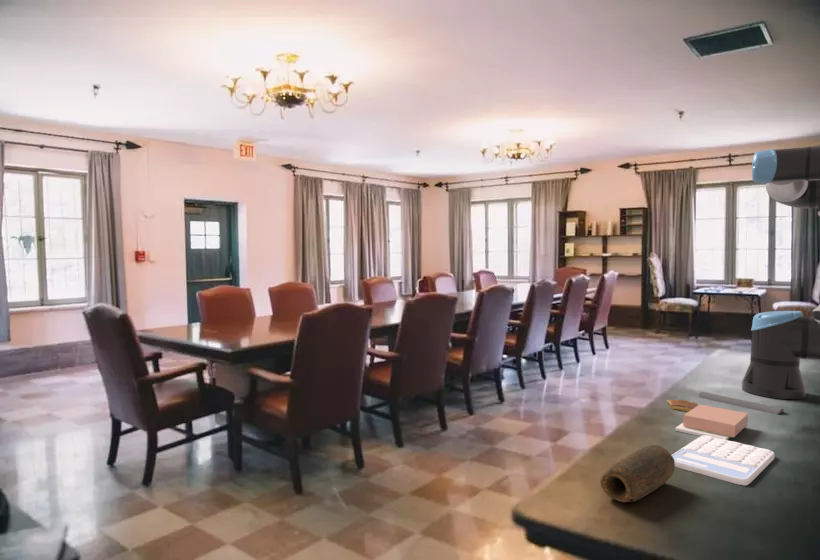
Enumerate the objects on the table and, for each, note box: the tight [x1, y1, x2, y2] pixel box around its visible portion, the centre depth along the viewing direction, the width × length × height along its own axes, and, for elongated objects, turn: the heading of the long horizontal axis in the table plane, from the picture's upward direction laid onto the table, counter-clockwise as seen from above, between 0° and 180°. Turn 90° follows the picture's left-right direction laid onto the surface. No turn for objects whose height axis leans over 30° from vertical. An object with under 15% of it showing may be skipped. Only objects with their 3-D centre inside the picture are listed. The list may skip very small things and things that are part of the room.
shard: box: [666, 399, 700, 413], centre depth 136 cm, size 11×8×2 cm
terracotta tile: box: [682, 404, 749, 438], centre depth 122 cm, size 12×3×10 cm
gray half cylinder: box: [698, 391, 785, 415], centre depth 143 cm, size 4×20×2 cm, turn 37°
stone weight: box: [599, 444, 676, 503], centre depth 89 cm, size 15×7×7 cm, turn 135°
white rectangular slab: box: [674, 422, 731, 441], centre depth 123 cm, size 16×10×1 cm, turn 137°
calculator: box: [671, 435, 776, 487], centre depth 104 cm, size 13×20×2 cm, turn 134°
